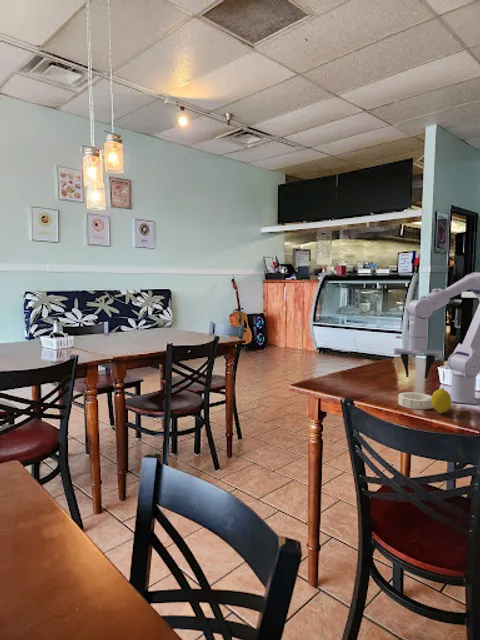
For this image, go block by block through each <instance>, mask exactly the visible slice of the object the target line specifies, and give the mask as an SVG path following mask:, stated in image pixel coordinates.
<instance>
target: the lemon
mask: <svg viewBox="0 0 480 640" xmlns="http://www.w3.org/2000/svg"><path fill="white" fill-rule="evenodd" d="M450 394H451V393H449V392H448V391H447V390H445V389H444V388H441V387H440V388H439V389H437V390H434V392H433V393H432V395H431V396H432V400H431V402H432V406H433V408H432V409H434V411H436V412H438V413H439V414H441V415H442V414H443V413H444V412H445V413H446V412H448V411H449V409H450V408H451V405H452V402H451V397H450Z"/></svg>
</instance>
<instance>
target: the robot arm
mask: <svg viewBox="0 0 480 640" xmlns="http://www.w3.org/2000/svg"><path fill="white" fill-rule="evenodd" d="M468 290H470V291H471V293H472V294H473V295H474V296H475V297H476V298H477V299H478V301H479V304H478V306H477V308H476V311H475V313H474V315H473V318H472V320H471V323H470V325H469V326H468V327H469V328H468V330H467V332H466V335H465V336H464V339H463V342H462V344H460V345H459V346H457V347H456V348H455V349H454V351H453V353H451V354H450V355H449V357H448V358H447V367H448V368H449V370H450V373H451V384H450V385H451V386H450V387H451V389H450V393H449V394H450V397H451V403H458V404H459V403H461V404H470V405H471V404H473V405H478V401H477V399H476V377H478V374H480V272H479V271H477V272H476V271H474V272H471V273H469V274H466V275H465V276H464V277H462V278H461V279H459V280H458V281H456V282H454V283H453V284H451V285H450V286H448V287H446V288H445V289H443V288H433V289H431V292H430V293H428V294H426V295H421V296H420V297H419V299H412V300H411V301H410V302H409V303H408V304H407V307H405V312H406V314H407V315H408V321H409V322H408V326H409V327H408V348H400V347H399V348H397V347H396V348H394V349H393V351H394V353H393V355H394V356H395V355H396V356H397V355H399V356H400V359H401V361H402V363H403V367H404V370H405V371H404V372H405V377H406V378H409V374H410V373H409V359H410V358H409V356H415V357H418V356H419V357H425V369H424V370H425V371H424V379H426V380H427V379H428V377H429V373H430V370H431V368H432V365H433V364H434V362H435V360H436V358H442V357H443V350H437V349H436V350H435V349H428V337H429V331H428V330H429V318H430V317H431V316H432V315H433V313H434V311H437V310H438V309H440V308H443V307H444V306H446V305H447V304H449V303H450V300H451V298H453V297H456V296H458V295H460V294H462V293H464V292H467V291H468Z"/></svg>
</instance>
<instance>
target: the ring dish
mask: <svg viewBox="0 0 480 640" xmlns="http://www.w3.org/2000/svg"><path fill="white" fill-rule="evenodd" d="M397 399H398V400H397V401H398V402H397V404H398V405H399V406H401V407H404V408H406V409H411V410H412V409H413V410H430V409H434V408H433V406H432V402H431V400H432V395H430V394H427V393H422V392H421V393H420V392H412V391H411V392H410V391H409V392H401V393H398V394H397Z"/></svg>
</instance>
